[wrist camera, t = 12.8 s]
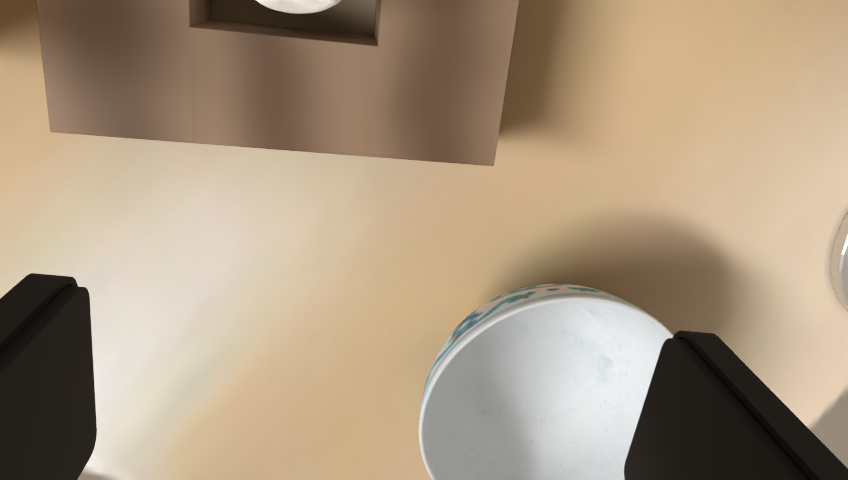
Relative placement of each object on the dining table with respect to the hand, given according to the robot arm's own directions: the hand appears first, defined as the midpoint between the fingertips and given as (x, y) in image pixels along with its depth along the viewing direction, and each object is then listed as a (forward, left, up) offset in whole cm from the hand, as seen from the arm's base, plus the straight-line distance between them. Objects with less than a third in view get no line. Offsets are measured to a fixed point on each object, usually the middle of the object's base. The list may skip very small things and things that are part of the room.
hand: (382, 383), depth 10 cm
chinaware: (-12, +15, -26) cm, 32 cm away
